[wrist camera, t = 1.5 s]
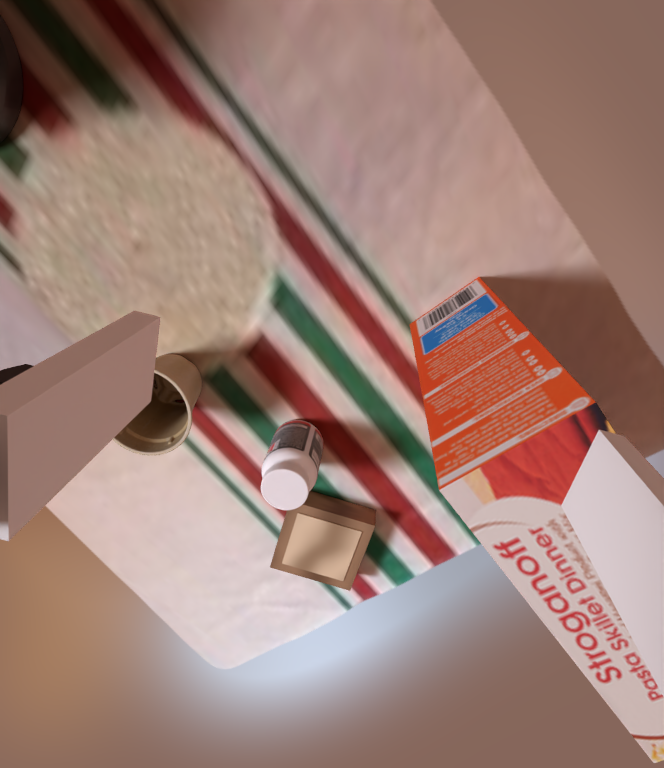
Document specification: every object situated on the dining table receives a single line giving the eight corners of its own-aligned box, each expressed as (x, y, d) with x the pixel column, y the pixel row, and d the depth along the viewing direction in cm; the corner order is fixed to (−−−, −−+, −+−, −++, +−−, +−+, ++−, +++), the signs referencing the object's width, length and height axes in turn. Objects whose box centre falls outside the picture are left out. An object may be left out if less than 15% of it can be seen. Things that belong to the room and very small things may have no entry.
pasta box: (409, 324, 53) (439, 489, 25) (479, 276, 51) (595, 402, 23) (525, 484, 59) (654, 763, 31) (593, 448, 56) (797, 715, 28)
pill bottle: (265, 445, 60) (243, 494, 51) (290, 408, 58) (273, 453, 49) (307, 471, 60) (293, 524, 51) (333, 436, 58) (324, 484, 49)
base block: (274, 550, 65) (269, 568, 62) (294, 486, 61) (290, 501, 58) (351, 572, 65) (349, 591, 63) (375, 510, 62) (375, 526, 59)
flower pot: (181, 322, 55) (147, 347, 47) (234, 393, 58) (210, 428, 50) (117, 365, 58) (74, 396, 50) (170, 431, 60) (138, 470, 52)
